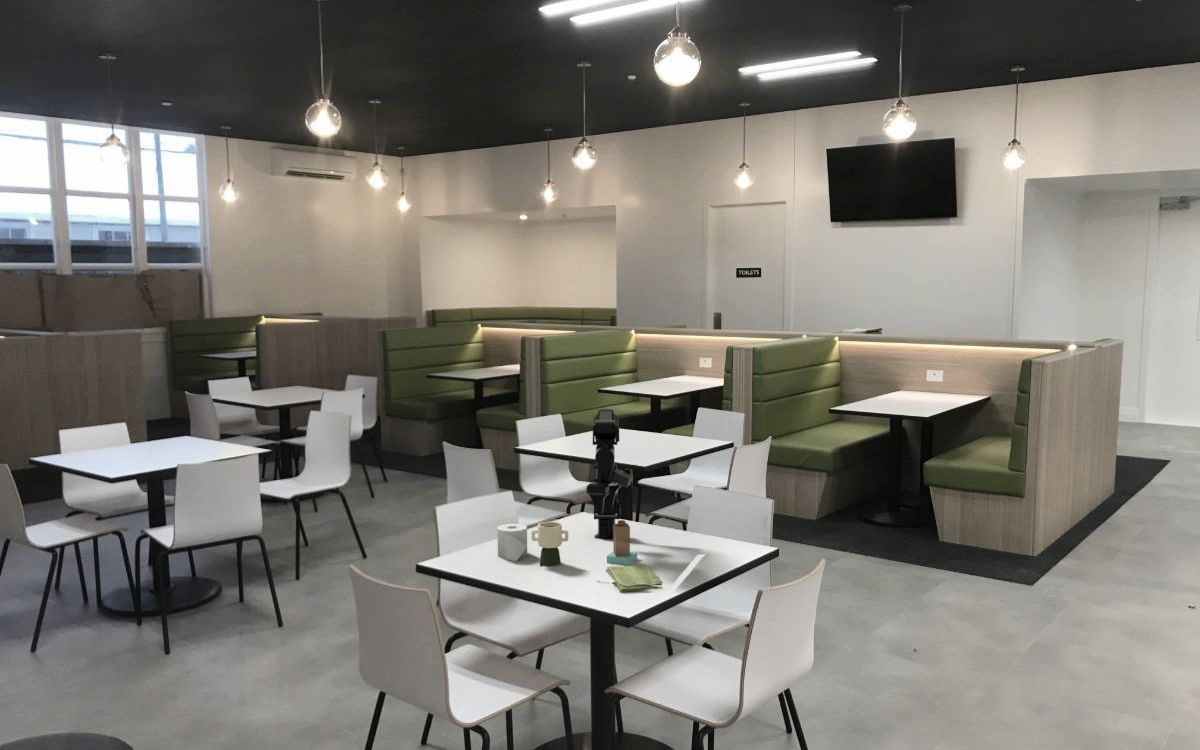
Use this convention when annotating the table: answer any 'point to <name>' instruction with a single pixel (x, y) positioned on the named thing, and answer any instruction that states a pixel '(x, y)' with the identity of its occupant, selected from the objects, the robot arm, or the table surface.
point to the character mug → (550, 542)
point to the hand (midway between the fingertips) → (605, 511)
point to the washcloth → (633, 577)
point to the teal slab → (622, 558)
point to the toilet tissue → (512, 541)
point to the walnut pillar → (621, 539)
